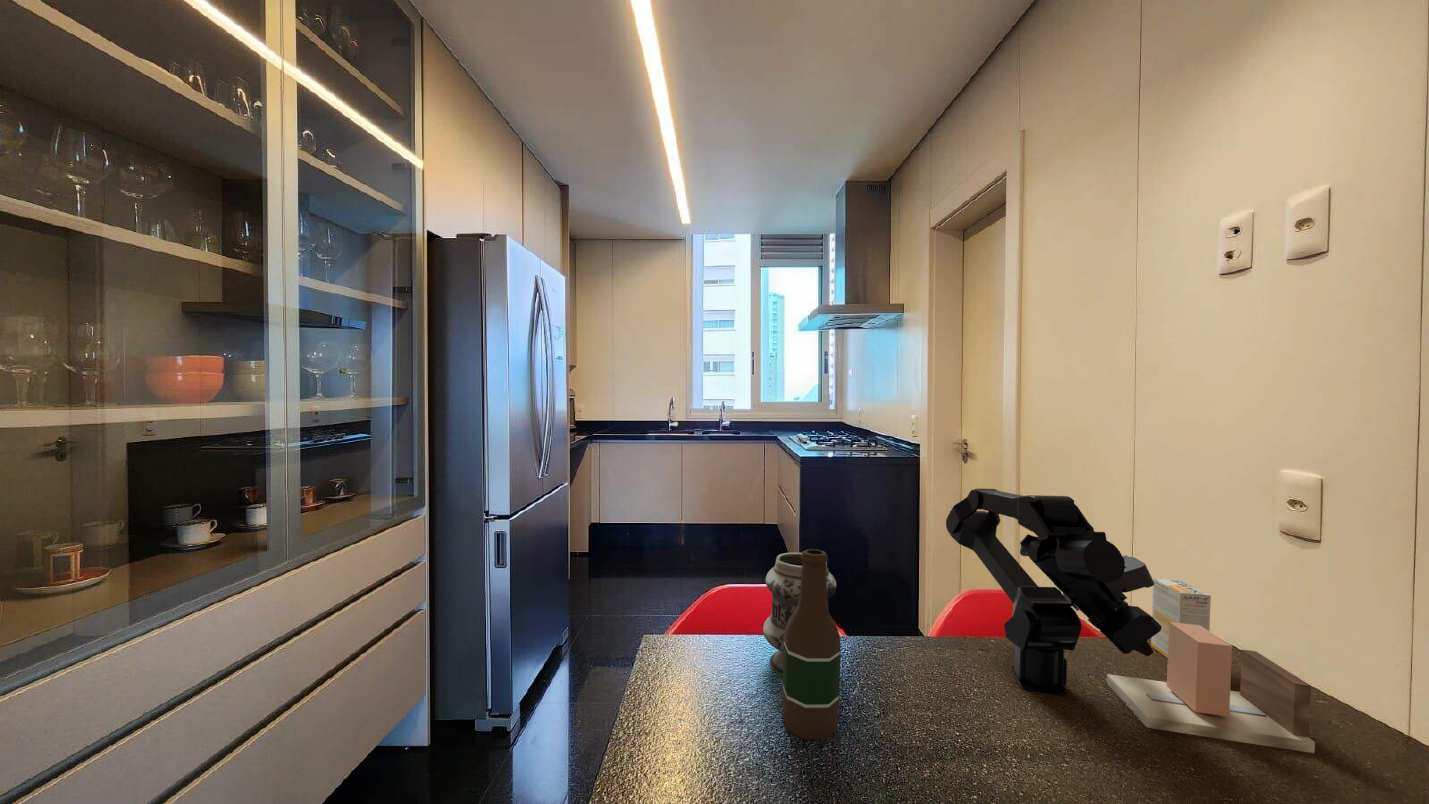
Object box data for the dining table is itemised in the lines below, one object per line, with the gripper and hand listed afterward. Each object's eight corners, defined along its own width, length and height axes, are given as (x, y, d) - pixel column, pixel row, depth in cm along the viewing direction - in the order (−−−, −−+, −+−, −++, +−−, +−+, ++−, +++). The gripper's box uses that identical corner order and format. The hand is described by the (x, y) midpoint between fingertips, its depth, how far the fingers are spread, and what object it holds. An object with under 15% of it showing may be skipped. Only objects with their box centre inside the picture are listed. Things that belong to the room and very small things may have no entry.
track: (1146, 727, 75) (1149, 667, 75) (1106, 683, 87) (1108, 631, 87) (1314, 753, 70) (1317, 689, 70) (1248, 702, 82) (1250, 648, 82)
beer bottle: (841, 715, 76) (846, 547, 76) (835, 748, 69) (840, 563, 68) (787, 703, 79) (791, 541, 78) (775, 734, 71) (780, 556, 71)
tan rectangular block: (1195, 711, 76) (1198, 642, 76) (1166, 686, 83) (1169, 621, 82) (1229, 716, 75) (1232, 646, 75) (1197, 690, 82) (1200, 625, 81)
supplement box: (1210, 671, 92) (1213, 595, 91) (1177, 667, 93) (1181, 592, 92) (1178, 649, 100) (1181, 579, 100) (1149, 646, 101) (1152, 577, 101)
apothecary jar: (825, 648, 96) (828, 549, 96) (843, 685, 84) (846, 571, 84) (758, 647, 96) (761, 547, 95) (767, 684, 84) (770, 570, 83)
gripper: (1147, 557, 72) (1242, 650, 70) (1086, 525, 90) (1160, 597, 88) (1078, 608, 74) (1168, 699, 72) (1033, 566, 92) (1103, 638, 90)
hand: (1149, 653), depth 80 cm, fingers closed
